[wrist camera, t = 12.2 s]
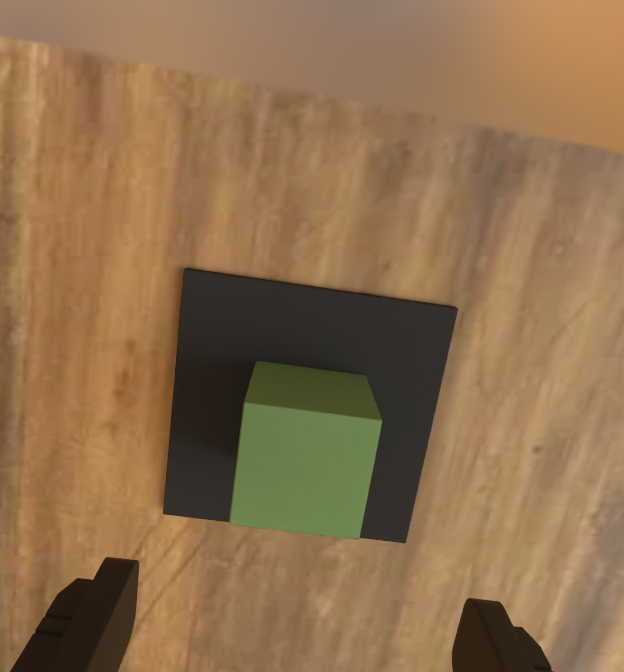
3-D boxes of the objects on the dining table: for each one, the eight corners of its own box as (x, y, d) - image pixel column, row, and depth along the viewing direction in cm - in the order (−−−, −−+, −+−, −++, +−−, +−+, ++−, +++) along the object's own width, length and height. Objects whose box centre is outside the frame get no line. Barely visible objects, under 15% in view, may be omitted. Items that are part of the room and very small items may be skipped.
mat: (186, 267, 22) (183, 269, 22) (455, 306, 23) (458, 308, 23) (165, 509, 25) (162, 514, 25) (404, 538, 26) (405, 543, 26)
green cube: (256, 359, 23) (243, 402, 18) (366, 374, 23) (382, 420, 18) (243, 460, 24) (228, 525, 19) (348, 473, 24) (359, 540, 20)
